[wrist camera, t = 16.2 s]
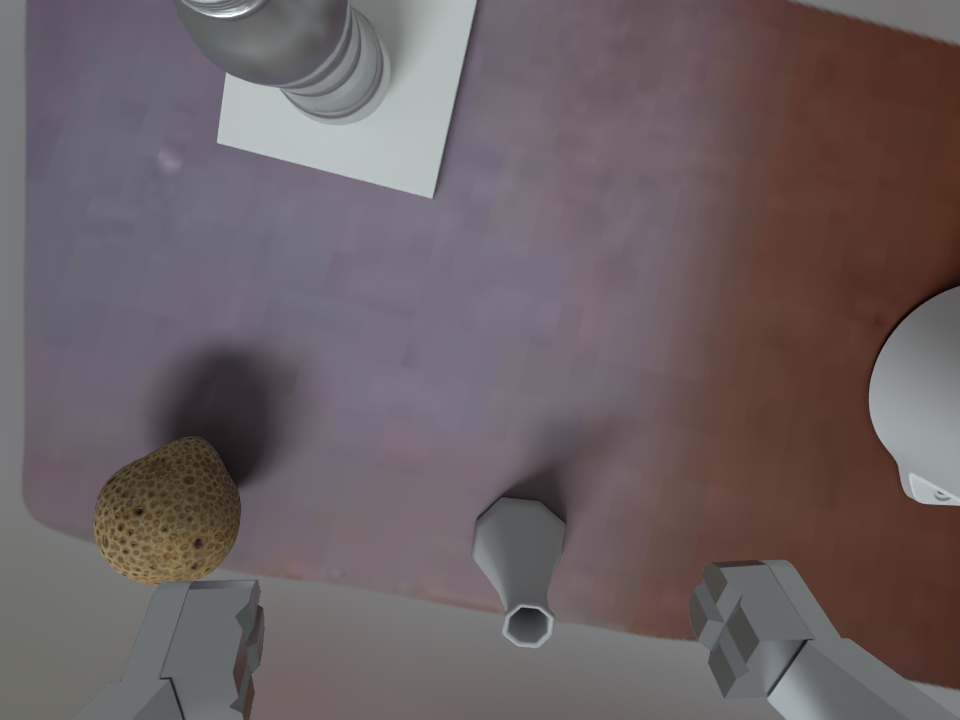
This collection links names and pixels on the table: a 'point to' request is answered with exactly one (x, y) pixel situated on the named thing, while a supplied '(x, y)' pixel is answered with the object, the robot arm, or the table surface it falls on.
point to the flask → (521, 564)
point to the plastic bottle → (296, 51)
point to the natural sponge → (168, 514)
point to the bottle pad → (397, 121)
